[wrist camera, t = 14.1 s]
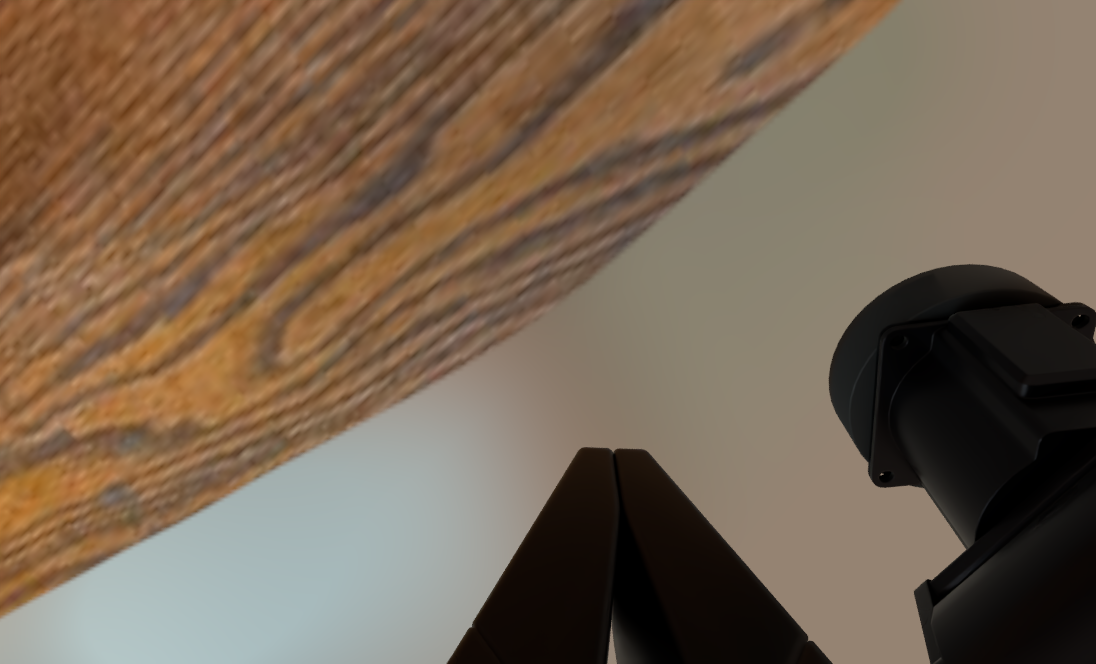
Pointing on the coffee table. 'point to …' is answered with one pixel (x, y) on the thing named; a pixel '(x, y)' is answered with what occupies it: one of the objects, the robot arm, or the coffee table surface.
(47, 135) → the coffee table surface
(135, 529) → the coffee table surface
